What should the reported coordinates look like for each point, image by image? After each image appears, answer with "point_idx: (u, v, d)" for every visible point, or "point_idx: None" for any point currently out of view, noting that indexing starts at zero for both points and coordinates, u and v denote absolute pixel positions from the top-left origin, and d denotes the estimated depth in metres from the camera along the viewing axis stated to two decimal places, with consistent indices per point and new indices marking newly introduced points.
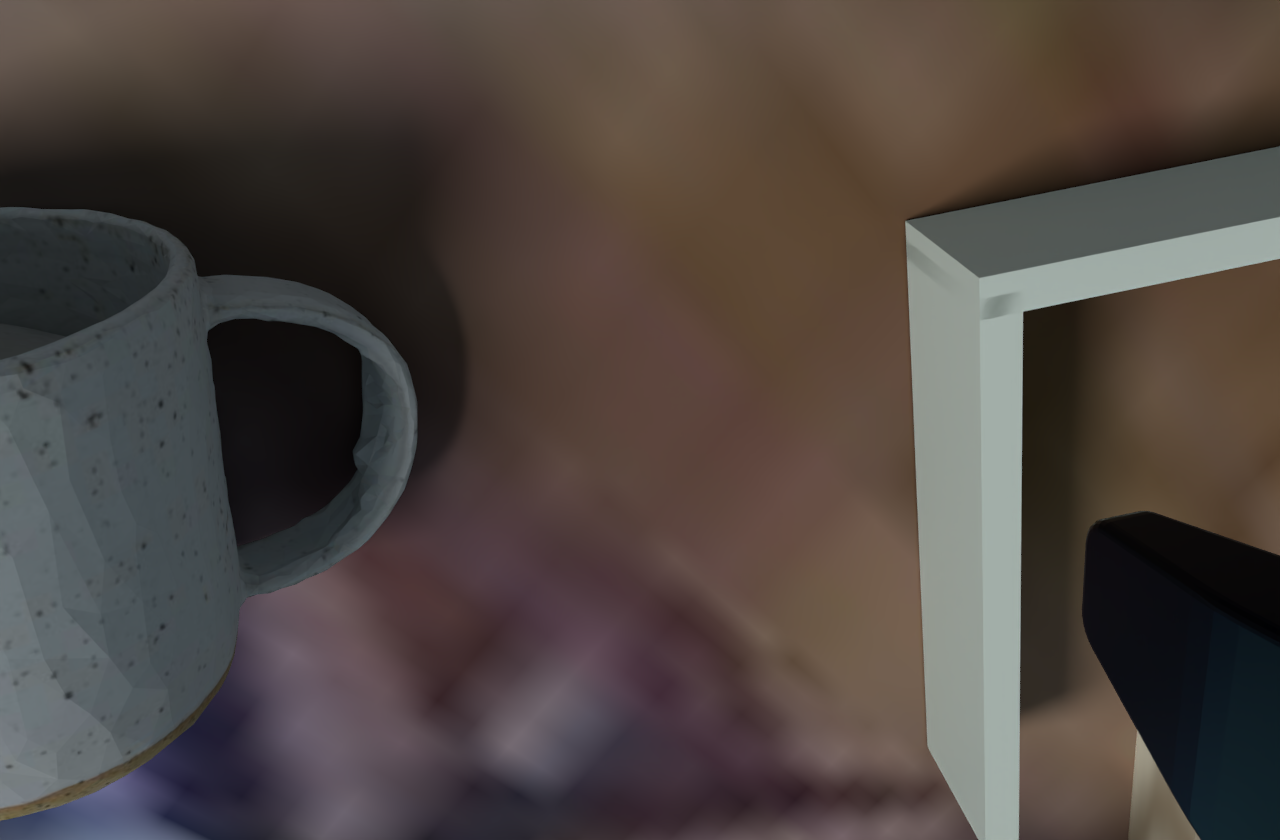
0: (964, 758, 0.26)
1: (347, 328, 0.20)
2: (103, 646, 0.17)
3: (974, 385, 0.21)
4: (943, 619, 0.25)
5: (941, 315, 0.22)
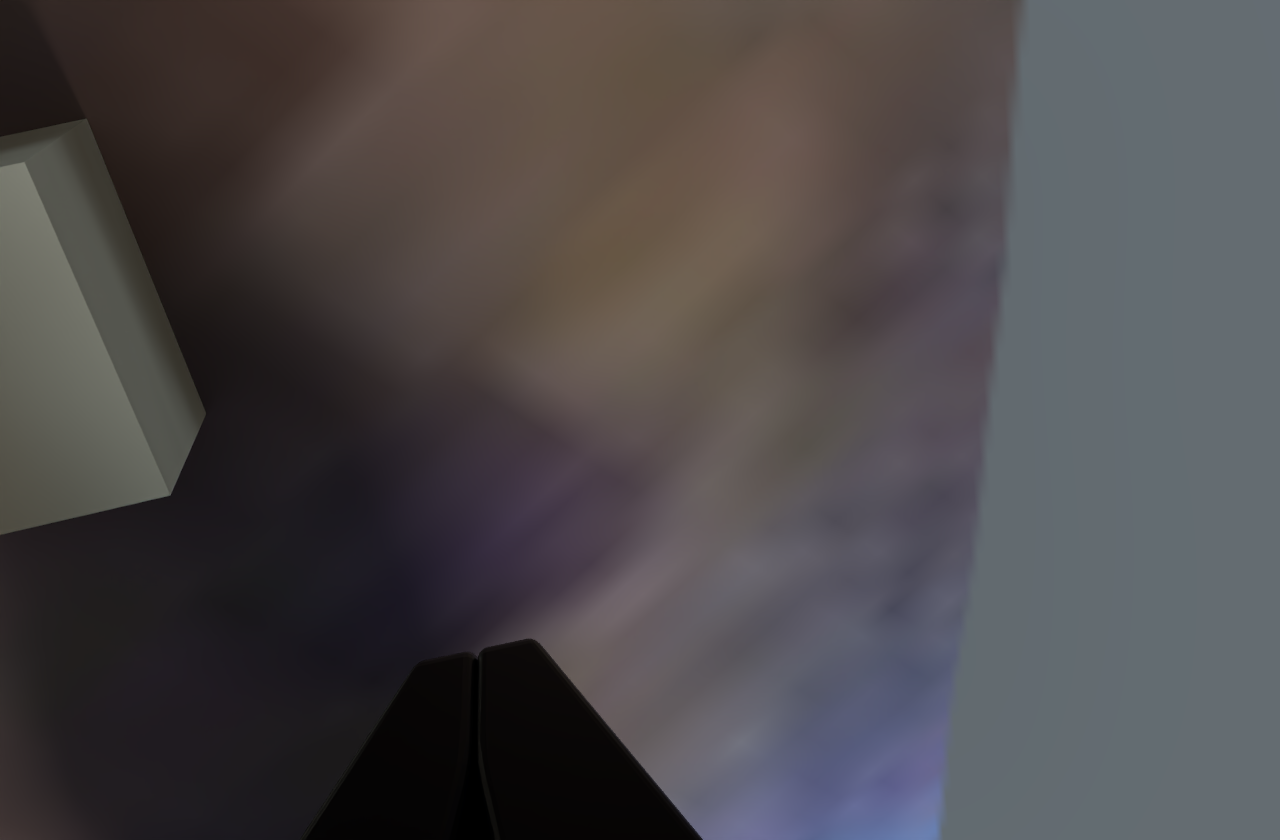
0: None
1: None
2: None
3: None
4: None
5: None
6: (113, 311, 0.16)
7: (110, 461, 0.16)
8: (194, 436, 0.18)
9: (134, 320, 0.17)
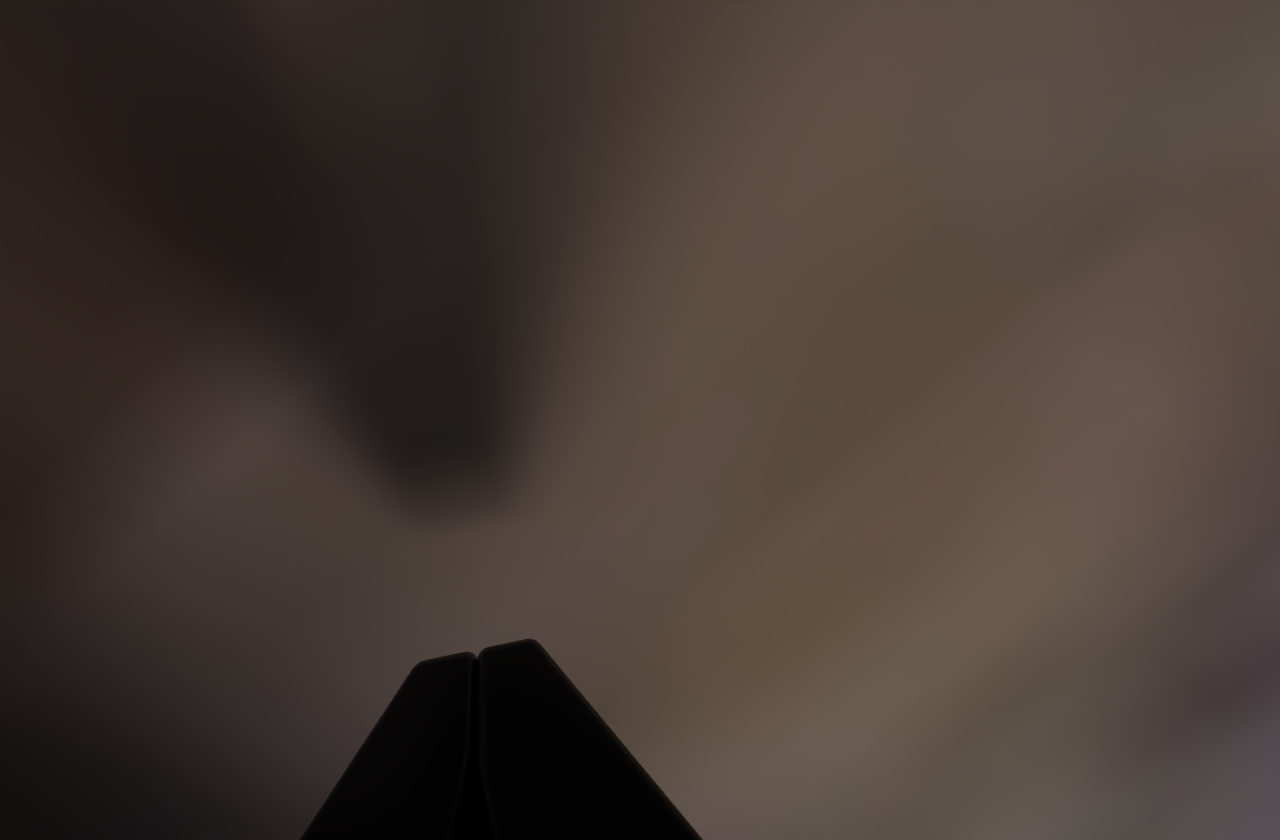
0: None
1: None
2: None
3: None
4: None
5: None
6: None
7: None
8: None
9: None
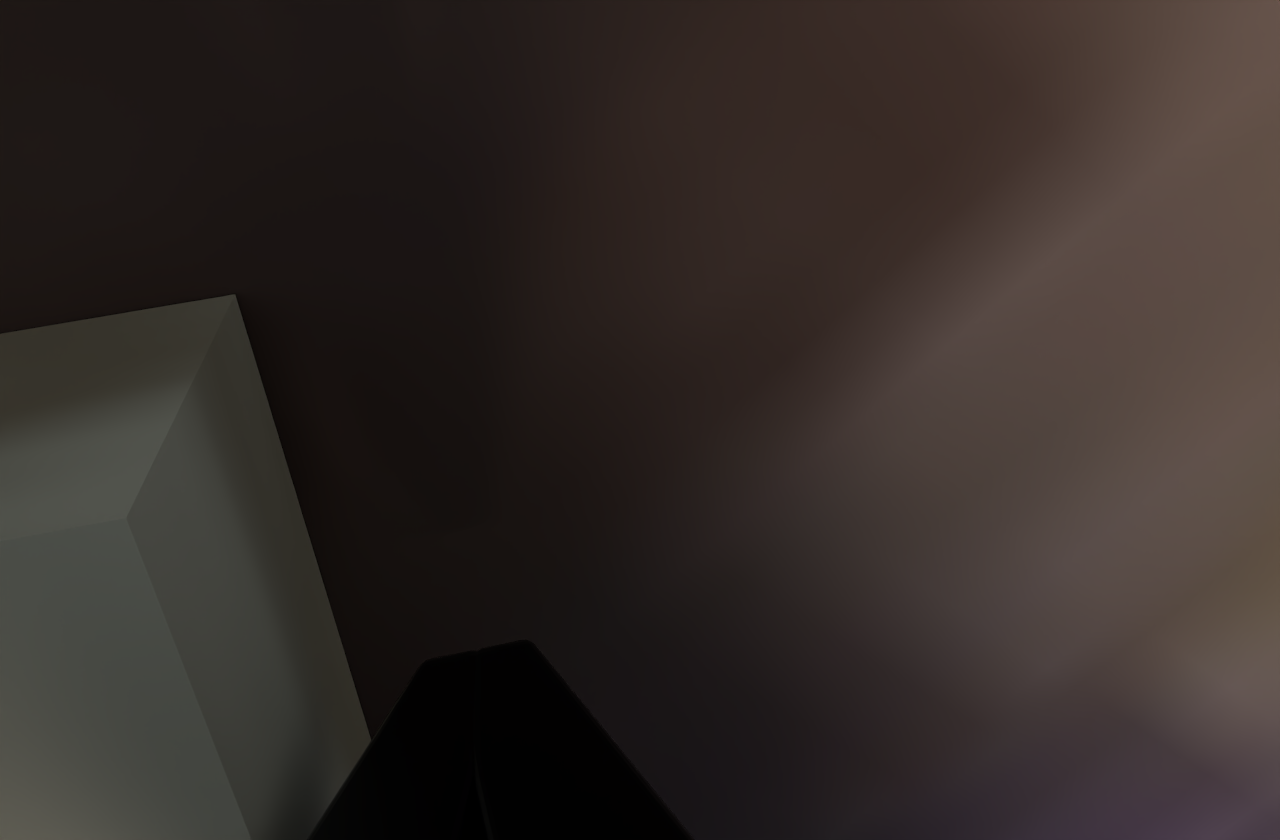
0: None
1: None
2: None
3: None
4: None
5: None
6: (285, 784, 0.07)
7: None
8: None
9: (313, 757, 0.07)
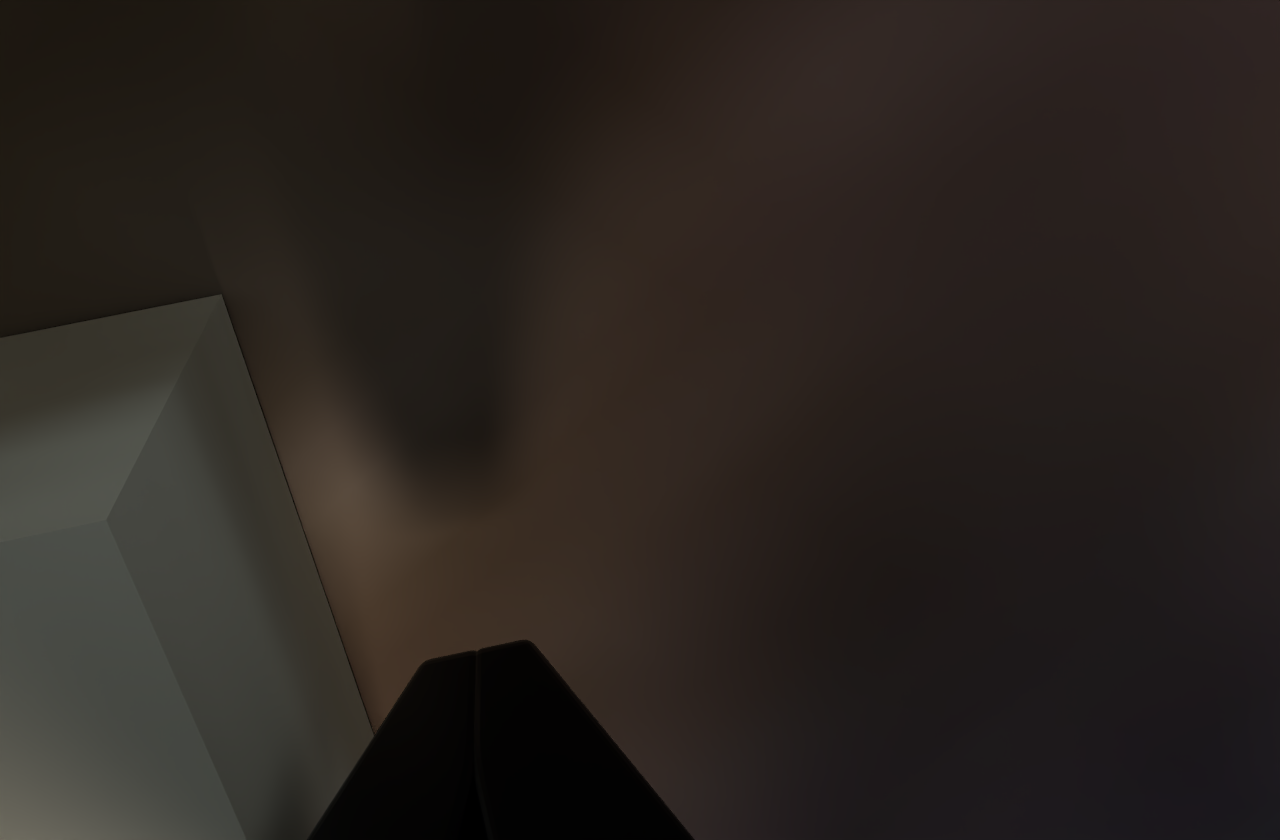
0: None
1: None
2: None
3: None
4: None
5: None
6: (282, 785, 0.07)
7: None
8: None
9: (311, 757, 0.07)
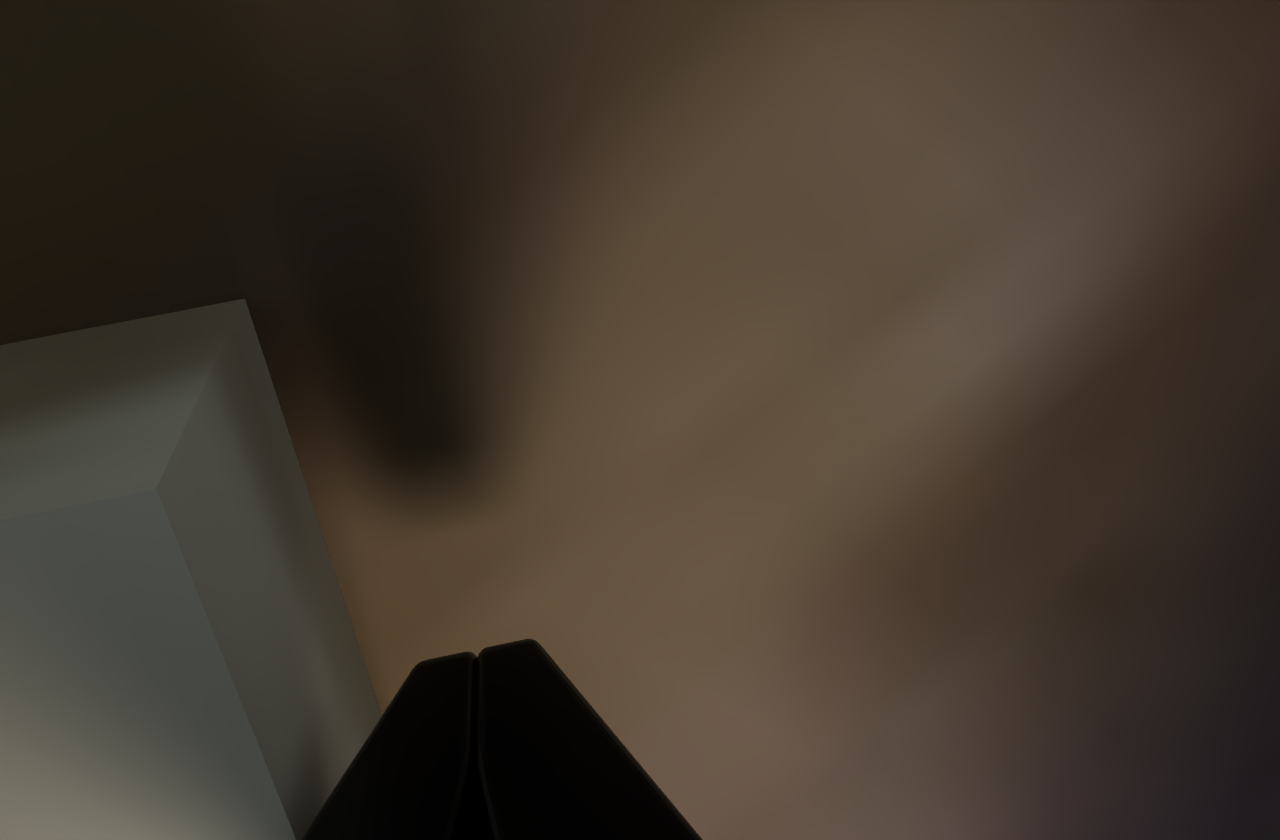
0: None
1: None
2: None
3: None
4: None
5: None
6: (309, 750, 0.07)
7: None
8: None
9: (335, 726, 0.08)
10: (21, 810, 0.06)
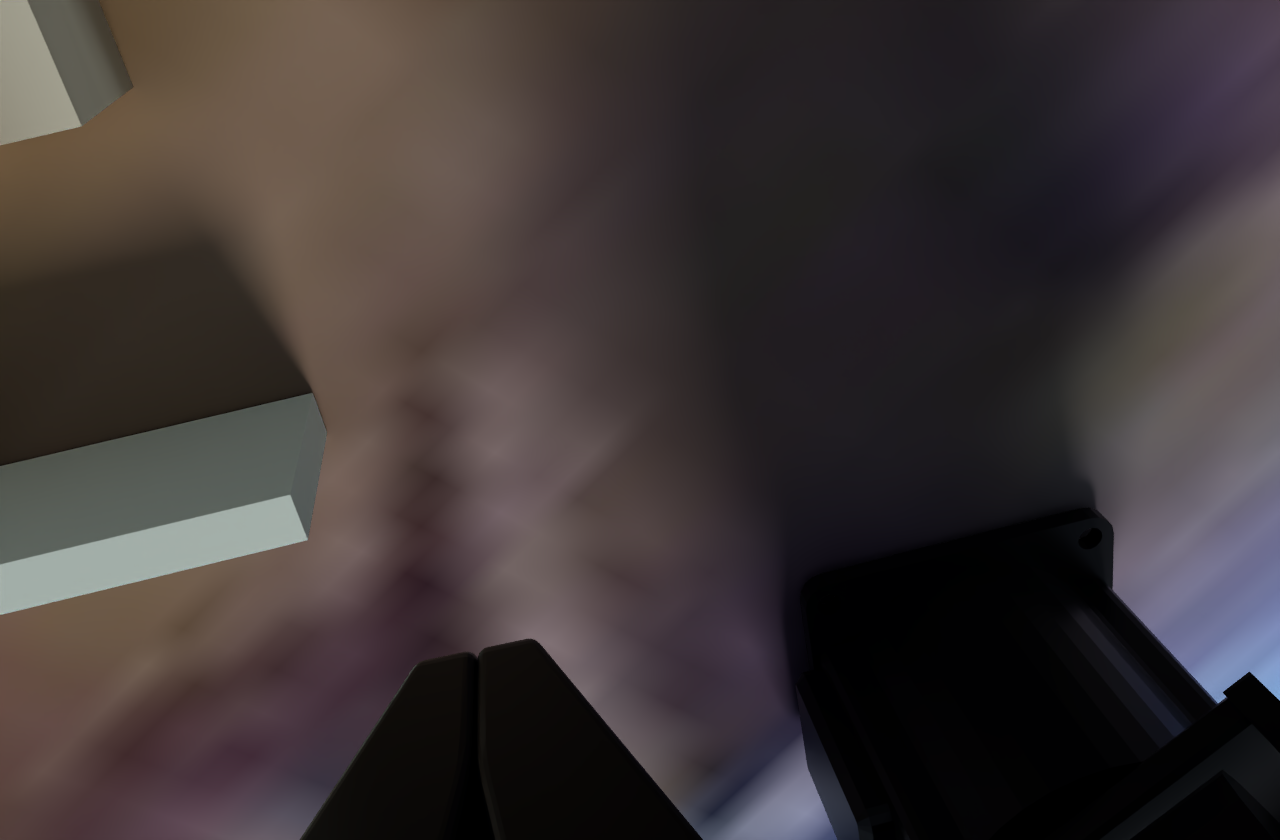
0: None
1: None
2: None
3: None
4: None
5: None
6: None
7: (8, 78, 0.14)
8: (116, 95, 0.16)
9: None
10: None
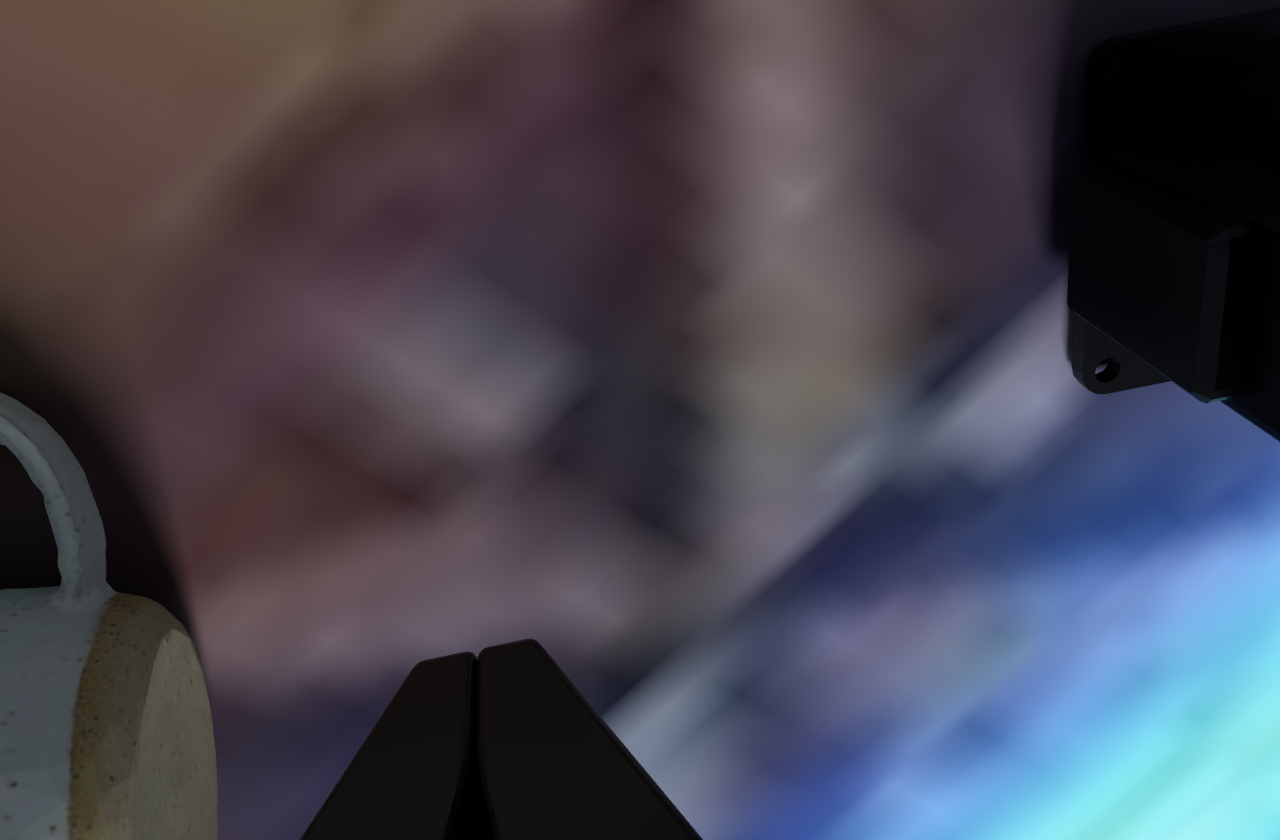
0: None
1: None
2: None
3: None
4: None
5: None
6: None
7: None
8: None
9: None
10: None
